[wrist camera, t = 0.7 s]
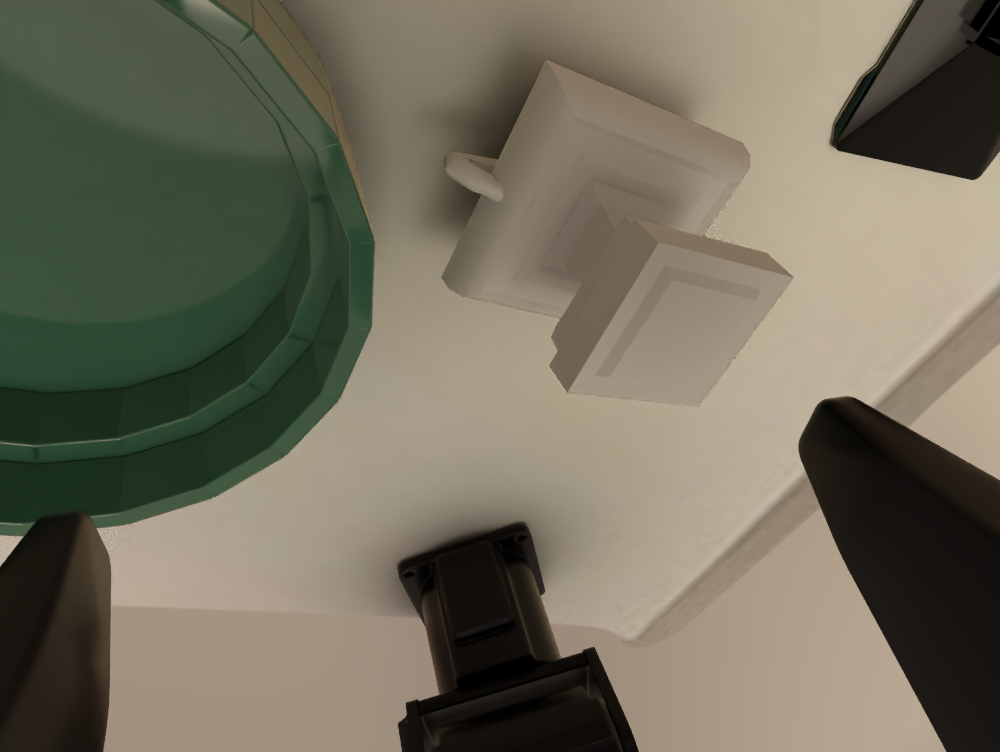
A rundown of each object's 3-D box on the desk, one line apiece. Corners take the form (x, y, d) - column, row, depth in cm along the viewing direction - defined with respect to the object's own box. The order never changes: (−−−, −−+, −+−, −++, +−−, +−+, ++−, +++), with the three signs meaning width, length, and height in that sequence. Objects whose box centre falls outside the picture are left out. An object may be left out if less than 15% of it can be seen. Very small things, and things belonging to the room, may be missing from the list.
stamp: (389, 224, 23) (445, 424, 17) (476, 6, 19) (587, 165, 13) (625, 285, 27) (736, 462, 21) (734, 116, 23) (905, 273, 17)
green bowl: (411, 322, 25) (440, 428, 22) (-64, 465, 24) (-113, 600, 21) (196, -316, 14) (183, -305, 10) (-729, -93, 13) (-1086, 1, 9)
